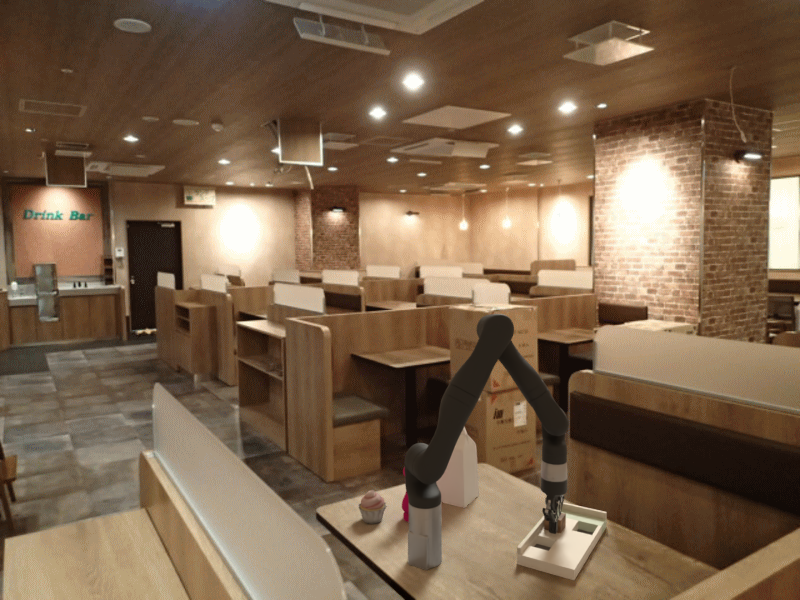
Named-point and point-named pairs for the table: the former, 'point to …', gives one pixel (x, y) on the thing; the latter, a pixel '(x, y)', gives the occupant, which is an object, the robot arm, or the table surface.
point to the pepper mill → (405, 504)
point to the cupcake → (372, 507)
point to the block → (560, 523)
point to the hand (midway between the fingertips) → (553, 532)
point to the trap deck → (563, 542)
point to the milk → (461, 474)
